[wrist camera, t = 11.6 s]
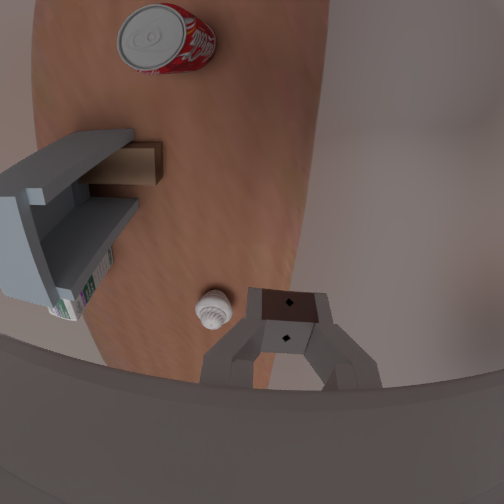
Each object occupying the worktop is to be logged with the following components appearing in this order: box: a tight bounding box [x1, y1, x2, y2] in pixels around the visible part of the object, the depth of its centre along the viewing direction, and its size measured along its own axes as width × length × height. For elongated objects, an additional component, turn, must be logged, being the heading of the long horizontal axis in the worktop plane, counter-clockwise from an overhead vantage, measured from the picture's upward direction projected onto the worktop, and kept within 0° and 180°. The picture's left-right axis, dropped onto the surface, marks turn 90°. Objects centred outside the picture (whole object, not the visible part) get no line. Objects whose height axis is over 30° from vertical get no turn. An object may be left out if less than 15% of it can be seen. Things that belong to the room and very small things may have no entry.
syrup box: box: [47, 247, 114, 321], centre depth 40 cm, size 6×6×14 cm
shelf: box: [0, 128, 139, 308], centre depth 29 cm, size 12×10×22 cm
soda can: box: [117, 3, 216, 75], centre depth 23 cm, size 7×7×13 cm
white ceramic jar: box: [195, 290, 233, 330], centre depth 48 cm, size 6×6×7 cm
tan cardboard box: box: [79, 142, 163, 186], centre depth 36 cm, size 5×12×4 cm, turn 85°
